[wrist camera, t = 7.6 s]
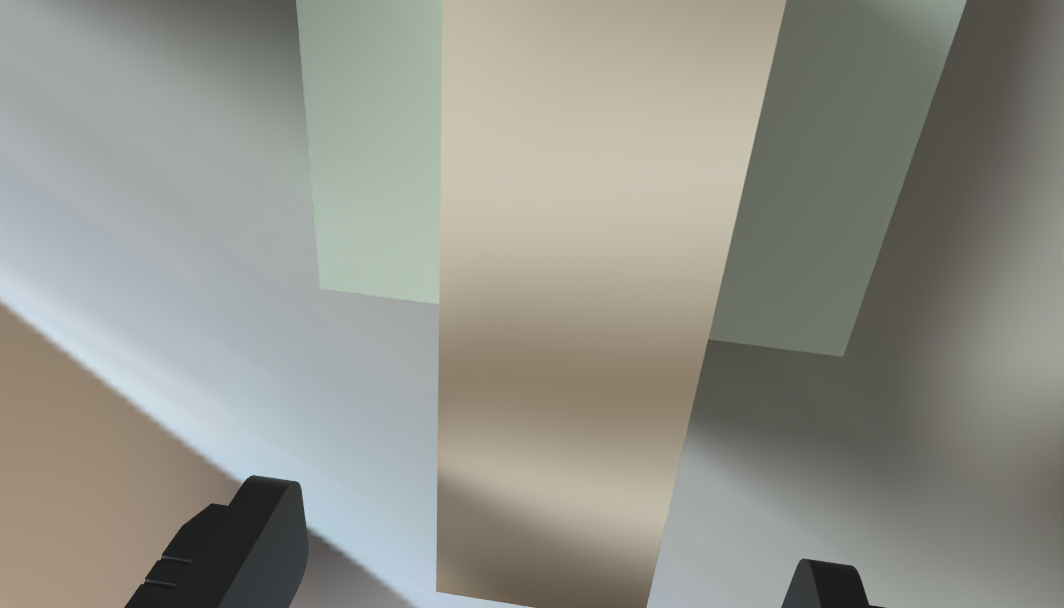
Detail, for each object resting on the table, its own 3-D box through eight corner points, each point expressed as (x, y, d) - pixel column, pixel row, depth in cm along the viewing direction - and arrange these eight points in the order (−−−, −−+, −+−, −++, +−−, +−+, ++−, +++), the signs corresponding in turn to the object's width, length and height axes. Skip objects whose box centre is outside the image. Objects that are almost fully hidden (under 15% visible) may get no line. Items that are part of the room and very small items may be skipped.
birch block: (510, -84, 13) (443, -73, 8) (741, -64, 12) (796, -42, 8) (484, 428, 18) (436, 591, 14) (641, 450, 18) (641, 624, 14)
